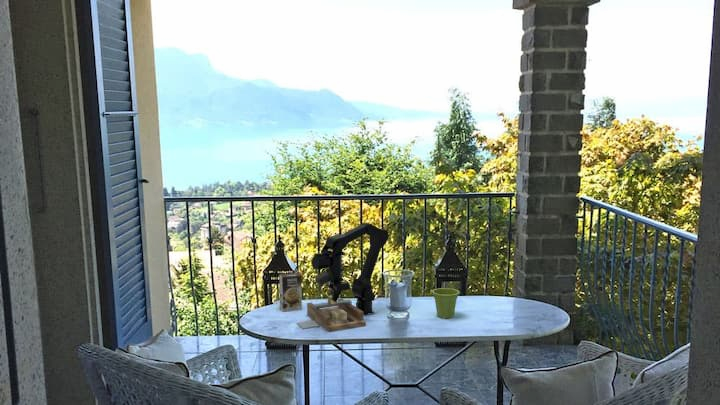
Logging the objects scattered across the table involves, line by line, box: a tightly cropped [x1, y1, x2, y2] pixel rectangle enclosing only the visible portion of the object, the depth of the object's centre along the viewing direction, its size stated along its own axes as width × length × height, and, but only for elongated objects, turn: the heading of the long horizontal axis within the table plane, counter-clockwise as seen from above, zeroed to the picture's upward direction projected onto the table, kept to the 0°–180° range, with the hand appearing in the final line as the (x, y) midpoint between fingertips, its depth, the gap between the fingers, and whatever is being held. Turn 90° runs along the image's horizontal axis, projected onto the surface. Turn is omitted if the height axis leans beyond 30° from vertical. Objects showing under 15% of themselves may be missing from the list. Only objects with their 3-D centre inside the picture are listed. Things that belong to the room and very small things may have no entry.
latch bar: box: [313, 294, 353, 309], centre depth 257 cm, size 17×3×4 cm, turn 116°
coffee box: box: [279, 272, 303, 312], centre depth 271 cm, size 9×6×16 cm
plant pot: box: [431, 287, 460, 319], centre depth 260 cm, size 12×12×11 cm
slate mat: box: [296, 320, 321, 330], centre depth 249 cm, size 8×8×1 cm
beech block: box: [331, 310, 348, 324], centre depth 251 cm, size 5×5×5 cm
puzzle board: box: [306, 297, 367, 333], centre depth 255 cm, size 17×24×6 cm
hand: (335, 301), depth 255 cm, fingers closed
